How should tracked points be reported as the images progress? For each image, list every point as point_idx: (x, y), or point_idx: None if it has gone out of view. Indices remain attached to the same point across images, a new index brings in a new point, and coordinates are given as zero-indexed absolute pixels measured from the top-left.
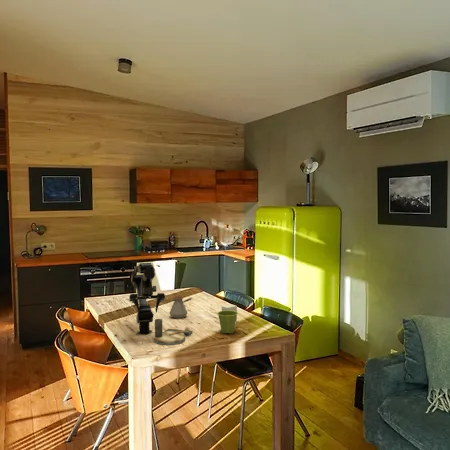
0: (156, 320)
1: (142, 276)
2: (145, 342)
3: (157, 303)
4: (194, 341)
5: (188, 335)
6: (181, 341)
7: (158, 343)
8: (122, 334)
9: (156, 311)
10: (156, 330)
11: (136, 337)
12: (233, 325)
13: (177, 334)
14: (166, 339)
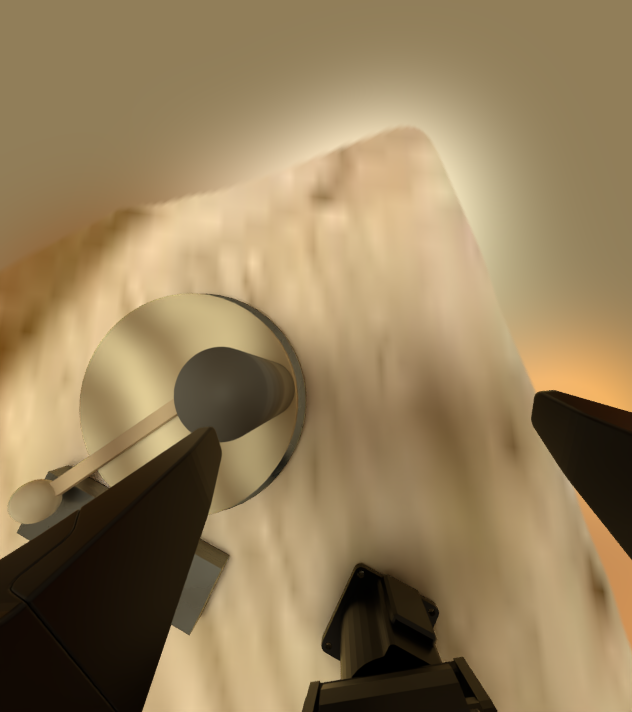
0: (246, 367)
1: None
2: (362, 373)
3: (28, 572)
4: (51, 350)
5: (67, 469)
6: None
7: (275, 325)
8: (550, 603)
9: (197, 433)
10: (272, 363)
11: (432, 501)
12: None
13: (128, 417)
14: (213, 306)
